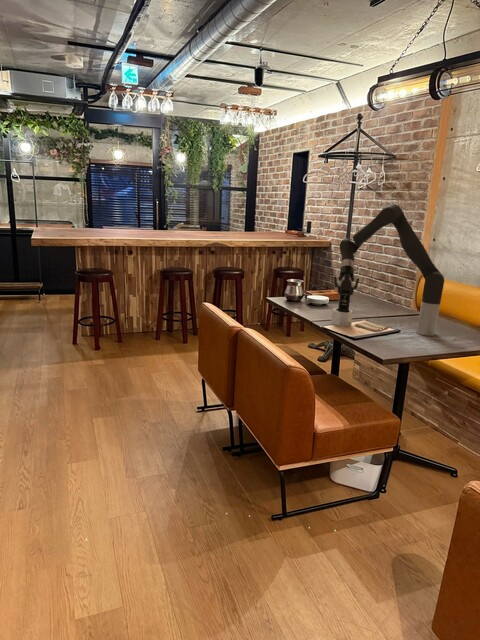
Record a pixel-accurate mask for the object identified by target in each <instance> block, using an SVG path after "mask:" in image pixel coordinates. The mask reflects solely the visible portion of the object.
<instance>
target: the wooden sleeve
mask: <svg viewBox="0 0 480 640" xmlns="http://www.w3.org/2000/svg"><path fill="white" fill-rule="evenodd" d="M353 314H354V311H353V310H352V309H349V312H340V311H338V307H334V308H332V315H331V324H332V326H336V327H340V326H349V327H351V326H352V323H353V322H352V321H353Z"/></svg>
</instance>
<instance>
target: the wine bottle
mask: <svg viewBox="0 0 480 640" xmlns="http://www.w3.org/2000/svg"><path fill="white" fill-rule="evenodd" d="M350 270H351V266H350V265H346V267H345V277H344V279H343V280H342V281H341V288H340V294H339V297H338V304H337V305H338V306H337V308H338V311H340V312H349V310H350V304H351V303H350V302H351V296H352V295H351V287H352V283H353V282H352V283H351V280H350V279H349V278H350Z"/></svg>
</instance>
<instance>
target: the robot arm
mask: <svg viewBox="0 0 480 640" xmlns="http://www.w3.org/2000/svg"><path fill="white" fill-rule="evenodd" d="M390 224H391V225H393V226H394V228H395V229H396V231H397V234H398V238H399V242H400V245H401V248H402V249H403V251H404V252H405V254H406V256H407V257H408V259H409V260H410V261H411V262H412V263H413V264H414V265H415V266H416V267H417V268H418V271H420V273H421V275H422V277H423V279H424V284H423V289H422V290H423V291H422V298H421V303H420V309H419V310H420V311H419V314H418V322H417V326H416V333H417V334H418V335H422V336H427V337H428V336H429V337H433V336H435V335H436V329H437V323H438V318H439V314H440V313H439V312H440V307H441V302H442V296H443V291H444V286H445V277H444V275H443V274H442V272H441V271H439V269H438V268H437V266H436V265H435V264H434V262H433V261H432V259H431V258H430V255H429V253H428V252H427V249H426V248H425V247H424V244H423V243H422V241H421V240H420V238H419V236H418V235H417V234H416V232H415V231H414V230H413V228H412V226H411V225H410V223H409V222H408V220H407V217H406V215H405V214H404V212H403V210H402V208H401V206H400V205H398V204H396V203H392V204H389V205H386V206H385V207H382V209H381V210H380V212H378V214H377V215H376V216H375V217H374V218H373V219H372V220H370V222H369V223H367V224H365V225H364V226H363V227H362V228H361V229H359V230H358V231H357V232H355V233H353V235H352V240H353V241H352V240H351V239H349V238H347V237H345V238H343V239H341V241H340V243H339V251H340V256H341V258H340V259H341V261H340V268H339V276H336V275H335V276H334V277H333V284H334V286H333V287H334V288H337V294H338V295H340V288H341V281H342V280H343V279H344V277H345V267H346V265H350V266H351V270H350V278H349V279H350V280H351V283H352V287H351V295H350V296H352V295H354V293H355V291H354V290H357V289H358V285H359V282H360V278H358V277H357V278H355V277H354V271H355V255H354V254H356V253H357V252H358V251H359V249H360V248H361V246H362V245H363V244H364V243H365V242H367V241H368V240H369V239H371V238H372V237H373V236H374V234H376V233H377V232H378V231H379V230H380V229H382V228H384V227H386V226H388V225H390ZM338 280H339V281H338ZM338 282H339V283H338ZM353 282H354V283H355V285H354V283H353Z"/></svg>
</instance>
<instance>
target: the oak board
mask: <svg viewBox="0 0 480 640" xmlns="http://www.w3.org/2000/svg"><path fill="white" fill-rule="evenodd" d="M356 326H358V327H357V328H360V327H363V328H362V329H364V328H367V329H371V330H375V331H377V330H380V329H383V328H387V329H388V328H389V326H388V325H384V324H380V323H375V322H371V321H362V322H358V323H355V324H354V327H356ZM367 329H366V330H367ZM371 330H370V331H371ZM375 331H374V332H375ZM380 331H381V330H380ZM377 332H378V331H377Z"/></svg>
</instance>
